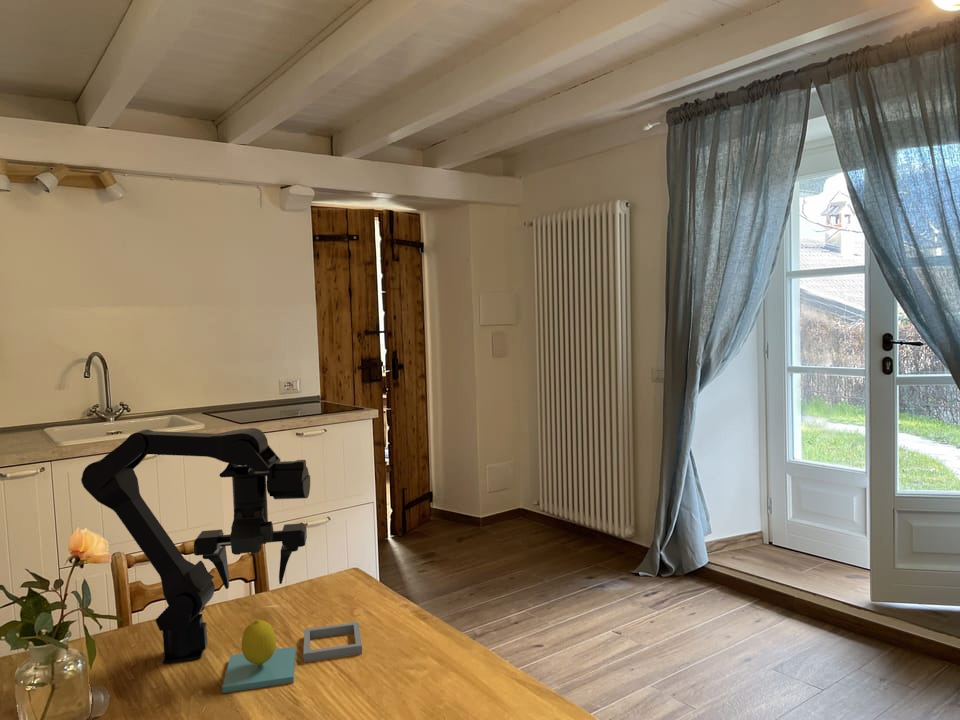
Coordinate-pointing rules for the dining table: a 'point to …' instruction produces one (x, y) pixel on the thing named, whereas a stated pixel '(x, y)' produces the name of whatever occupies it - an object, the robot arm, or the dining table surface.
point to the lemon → (258, 642)
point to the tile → (260, 671)
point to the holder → (332, 651)
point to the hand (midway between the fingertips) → (254, 585)
